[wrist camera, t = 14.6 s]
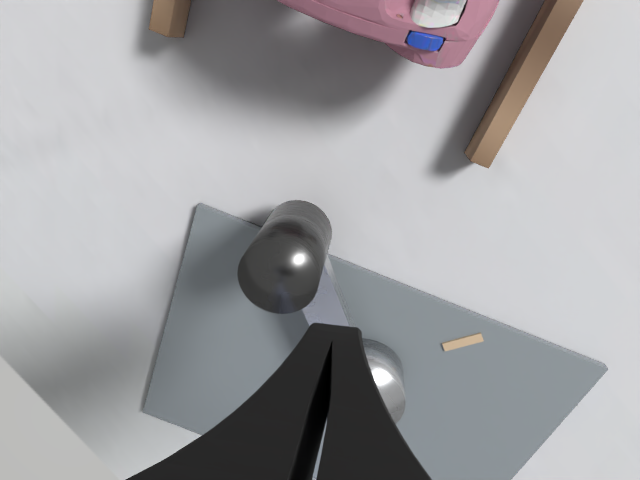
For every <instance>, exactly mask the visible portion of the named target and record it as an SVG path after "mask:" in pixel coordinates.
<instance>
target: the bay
mask: <svg viewBox="0 0 640 480" xmlns="http://www.w3.org/2000/svg"><path fill="white" fill-rule="evenodd" d="M582 2H583V0H545V1H544V3H543V5H542V7H541V9H540V11H539V12H538V14H537V16H536V18H535V20H534V22H533V24H532V26H531V28H530V29H529V31H528V33H527V35H526V37H525V39H524V41H523V43H522V45H521V46H520V48H519V50H518V52H517V54H516V56H515V58H514V60H513V62H512V63H511V65H510V67H509V69H508V71H507V73H506V75H505V77H504V79H503V81H502V82H501V84H500V86H499V88H498V90H497V92H496V94H495V96H494V98H493V99H492V101H491V103H490V105H489V107H488V109H487V111H486V113H485V115H484V116H483V118H482V120H481V122H480V124H479V126H478V128H477V130H476V132H475V133H474V135H473V137H472V139H471V141H470V143H469V145H468V147H467V149H466V150H465V152H464V153H465V154H466V156H467V157H468V158H469V160H470V161H471V162H474V163H476V164H479V165H481V166H484V167H486V168H489V167H490V165H491V163H492V162H493V160H494V158H495V156H496V155H497V153H498V151H499V149H500V147H501V146H502V144H503V142H504V140H505V139H506V137H507V135H508V133H509V131H510V130H511V128H512V126H513V124H514V123H515V121H516V119H517V117H518V116H519V114H520V112H521V110H522V108H523V107H524V105H525V103H526V101H527V100H528V98H529V96H530V94H531V92H532V91H533V89H534V87H535V85H536V84H537V82H538V80H539V78H540V76H541V75H542V73H543V71H544V69H545V68H546V66H547V64H548V62H549V61H550V59H551V57H552V55H553V53H554V52H555V50H556V48H557V46H558V45H559V43H560V41H561V39H562V37H563V36H564V34H565V32H566V30H567V29H568V27H569V25H570V23H571V22H572V20H573V18H574V16H575V14H576V13H577V11H578V9H579V7H580V6H581V4H582ZM190 4H191V0H154V2H153V8H152V14H151V19H150V25H149V30H152V31H154V32H157V33H159V34H162V35H164V36H166V37H184V33H185V28H186V23H187V18H188V13H189V9H190Z"/></svg>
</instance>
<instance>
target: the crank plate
mask: <svg viewBox="0 0 640 480" xmlns="http://www.w3.org/2000/svg"><path fill="white" fill-rule="evenodd" d="M261 228H262V227H260V226H257V225H254V224H252V223H249V222H247V221H244V220H242V219H239V218H237V217H234V216H232V215H229V214H227V213H224V212H222V211H219V210H217V209H214V208H212V207H209V206H207V205H204V204H202V203H200V204H198V205H197V208H196V212H195V216H194V220H193V223H192V227H191V231H190V235H189V238H188V242H187V246H186V250H185V254H184V257H183V261H182V265H181V269H180V273H179V276H178V280H177V284H176V288H175V292H174V295H173V299H172V303H171V307H170V310H169V314H168V318H167V322H166V326H165V329H164V333H163V337H162V341H161V345H160V348H159V352H158V356H157V360H156V363H155V367H154V371H153V375H152V379H151V382H150V386H149V390H148V394H147V398H146V401H145V405H144V409H143V413H146V414H148V415H151V416H154V417H156V418H159V419H161V420H164V421H167V422H169V423H172V424H175V425H177V426H180V427H182V428H185V429H188V430H190V431H193V432H196V433H198V434H201V435H203V434H205V433H206V432H208V431H209V430H210V429H212V428H213V427H214V426H216V425H217V424H218V423H220V422H221V421H222V420H223V419H225V418H226V417H227V416H229V415H230V414H231V413H232V412H234V411H235V410H236V409H237V408H238V407H239V406H241V405H242V404H243V403H244V402H245V401H246V400H247V399H248V398H249V397H251V396H252V395H253V394H254V393H255V392H256V391H257V390H258V389H259V388H260V387H261V386H262V385H263V384H264V383H265V382H266V381H267V379H268V378H269V377H270V376H271V375H272V374H273V373H274V372H275V371H276V370H277V369H278V368H279V367H280V365H281V364H282V363H283V362H284V360H285V359H286V358H287V357H288V356H289V354H290V353H291V352H292V351H293V349H294V348H295V347H296V345H297V344H298V343H299V341H300V340H301V339H302V337H303V336H304V334H305V333H306V331H307V329H308V328H309V324H308V322H307V320H306V317H305V315H304V313H303V311H302V309H301V310H299V311H297V312H294V313H289V314H276V313H271V312H268V311H265V310H263V309H261V308H259V307H257V306H256V305H254V304H253V303H252V302H251V301H250V300H249V299H248V298H247V297H246V296H245V294H244V293H243V291H242V290H241V287H240V285H239V282H238V276H237V272H238V265H239V262H240V260H241V258H242V256H243V255H244V253H245V252H246V250H247V249H248V247H249V246H250V244H251V243H252V241H253V240H254V238H255V237H256V235H257V234H258V232H259V231H260V229H261ZM327 255H328V258H329V260H330V263H331V265H332V268H333V270H334V273H335V275H336V278H337V280H338V283H339V285H340V288H341V290H342V293H343V296H344V298H345V301H346V303H347V306H348V308H349V311H350V313H351V316H352V318H353V321H354V323H355V326H356V327H358V328H359V329H360V330H361V331H362V338H366V339H371V340H375V341H378V342H380V343H383V344H385V345H386V346H388V347H389V348H391V349H392V350H393V351H394V352H395V353H396V354H397V355H398V357H399V358H400V360H401V362H402V365H403V370H404V385H405V402H406V404H405V411H404V413H403V416H402V417H401V419H400V420H399V421H398V422H397V423H396V426H397V428H398V429H399V431H400V433H401V435H402V436H403V438H404V440H405V441H406V443H407V444H408V446H409V448H410V449H411V451H412V452H413V454H414V455H415V457H416V458H417V459H418V461H419V462H420V464H421V465H422V466H423V468H424V469H425V471H426V472H427V473H428V475H429V476H430V477H431V479H432V480H511V479H512V478H513V477H514V476H515V475H516V474H517V473H518V471H519V470H520V469H521V468H522V467H523V466H524V465H525V463H526V462H527V461H528V460H529V459H530V458H531V457H532V455H533V454H534V453H535V452H536V451H537V450H538V449H539V448H540V446H541V445H542V444H543V443H544V442H545V441H546V440H547V438H548V437H549V436H550V435H551V434H552V433H553V432H554V430H555V429H556V428H557V427H558V426H559V425H560V424H561V423H562V421H563V420H564V419H565V418H566V417H567V416H568V415H569V413H570V412H571V411H572V410H573V409H574V408H575V407H576V405H577V404H578V403H579V402H580V401H581V400H582V399H583V397H584V396H585V395H586V394H587V393H588V392H589V391H590V390H591V388H592V387H593V386H594V385H595V384H596V383H597V382H598V380H599V379H600V378H601V377H602V376H603V375H604V374H605V372H606V371H607V370H608V368H607V367H606V365H605V364H603V363H601V362H598V361H596V360H593V359H591V358H588V357H586V356H583V355H581V354H578V353H576V352H573V351H571V350H568V349H566V348H563V347H561V346H558V345H556V344H553V343H551V342H548V341H546V340H543V339H541V338H538V337H536V336H533V335H531V334H528V333H526V332H523V331H521V330H518V329H516V328H513V327H511V326H508V325H506V324H503V323H500V322H498V321H495V320H493V319H490V318H488V317H485V316H483V315H480V314H478V313H475V312H473V311H470V310H468V309H465V308H463V307H460V306H458V305H455V304H453V303H450V302H448V301H445V300H443V299H440V298H438V297H435V296H433V295H430V294H428V293H425V292H423V291H420V290H418V289H415V288H413V287H410V286H408V285H405V284H403V283H400V282H398V281H395V280H393V279H390V278H388V277H385V276H383V275H380V274H377V273H375V272H372V271H370V270H367V269H365V268H362V267H360V266H357V265H355V264H352V263H350V262H347V261H345V260H342V259H340V258H337V257H335V256H332V255H330V254H327ZM326 425H327V420H326V424H325V428H324V432H323V436H322V440H321V444H320V448H319V453H318V457H317V461H316V465H315V469H314V473H313V477H314V478H316V479H317V474H318V468H319V463H320V458H321V453H322V447H323V442H324V436H325V431H326Z"/></svg>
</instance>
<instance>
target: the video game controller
mask: <svg viewBox="0 0 640 480" xmlns="http://www.w3.org/2000/svg"><path fill="white" fill-rule="evenodd" d="M277 1H279V2H280V3H282V4H284V5H286V6H288V7H290V8H292V9H295V10H297V11H299V12H301V13H304V14H306V15H308V16H311V17H313V18H315V19H317V20H320V21H322V22H324V23H327V24H330V25H332V26H335V27H338V28H340V29H343V30H346V31H348V32H351V33H354V34H357V35H360V36H363V37H366V38H369V39H373V40H376V41H379V42H383V43H385V44H386V45H387V46H389V47H390V48H391V49H392V50H394V51H395V52H397V53H398V54H399V55H401V56H403V57H405V58H406V59H408V60H410V61H412V62H415V63H418V64H421V65H424V66H429V67H435V68H451V67H455V66H458V65H460V64H461V63H462V62H463V61H464V59H465V58H466V56H467V55H468V53H469V52H470V50H471V49H472V47H473V46H474V44H475V43H476V41H477V39H478V38H479V36H480V35H481V34H482V32H483V31H484V29H485V28H486V26H487V24H488V23H489V21H490V20H491V18H492V16H493V14H494V12H495V10H496V8H497V5H498V3H499V0H277Z"/></svg>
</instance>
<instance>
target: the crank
mask: <svg viewBox="0 0 640 480" xmlns="http://www.w3.org/2000/svg"><path fill="white" fill-rule="evenodd" d="M331 237H332V229H331V225H330V222H329V220H328V218H327V216H326V215H325V213H324V212H323V211H322V210H321V209H320V208H318V207H317V206H315V205H314V204H311V203H309V202H306V201H301V200H293V201H288V202H285V203H282V204H281V205H279V206H278V207H276V208H275V209H274V210H273V211H272V213H271V214H270V216H269V217H268V219H267V220H266V222H265V223H264V225H263V226H262V228H261V229H260V231H259V232H258V234H257V235H256V237H255V238H254V240H253V241H252V243H251V244H250V246H249V247H248V249H247V250H246V252H245V253H244V255H243V256H242V258H241V260H240V262H239V265H238V272H237V276H238V282H239V285H240V287H241V290H242V291H243V293H244V294H245V296H246V297H247V298H248V299H249V300H250V301H251V302H252V303H253V304H254V305H256V306H257V307H259V308H261V309H263V310H265V311H268V312H271V313H276V314H289V313H294V312H297V311H299V310H301V309H302V311H303V313H304V315H305V317H306V320H307V322H308V324H309V326H310V325H311V324H313V323H323V324H332V325H340V326H349V327H356V326H355V323H354V321H353V318H352V316H351V313H350V311H349V308H348V306H347V303H346V301H345V298H344V296H343V293H342V290H341V288H340V285H339V283H338V280H337V278H336V275H335V273H334V270H333V268H332V265H331V263H330V260H329V258H328V255H327V253H328V249H329V245H330V242H331ZM362 341H363V346H364V350H365V354H366V357H367V360H368V364H369V367H370V369H371V372H372V375H373V377H374V380H375V382H376V385H377V387H378V390H379V392H380V394H381V396H382V399H383V401H384V403H385V405H386V407H387V409H388V411H389V413H390V415H391V417H392V419H393V421H394V422H395V424H396V423H397V422H398V421H399V420H400V419H401V417H402V416H403V413H404V411H405V404H406V402H405V385H404V370H403V365H402V362H401V360H400V358H399V357H398V355H397V354H396V353H395V352H394V351H393V350H392V349H391V348H389V347H388V346H386V345H385V344H383V343H380V342H378V341H375V340H371V339H366V338H362Z"/></svg>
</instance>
